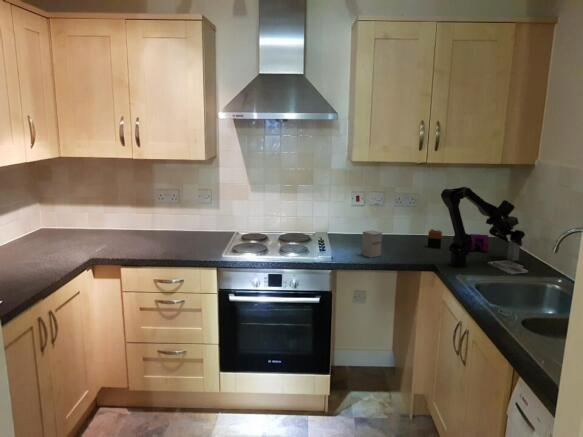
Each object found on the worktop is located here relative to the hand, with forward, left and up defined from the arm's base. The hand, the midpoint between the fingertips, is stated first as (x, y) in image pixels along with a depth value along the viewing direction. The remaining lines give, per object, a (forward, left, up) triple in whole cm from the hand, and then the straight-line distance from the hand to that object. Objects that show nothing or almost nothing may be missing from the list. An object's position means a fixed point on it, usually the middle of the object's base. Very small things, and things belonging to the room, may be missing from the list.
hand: (514, 243), depth 237 cm
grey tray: (-13, -11, -9) cm, 19 cm away
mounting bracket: (-4, +24, -9) cm, 26 cm away
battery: (-26, +31, -9) cm, 41 cm away
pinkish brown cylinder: (-68, +25, -9) cm, 73 cm away
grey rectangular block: (0, 0, -9) cm, 9 cm away
